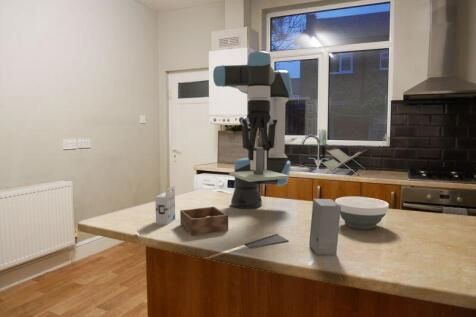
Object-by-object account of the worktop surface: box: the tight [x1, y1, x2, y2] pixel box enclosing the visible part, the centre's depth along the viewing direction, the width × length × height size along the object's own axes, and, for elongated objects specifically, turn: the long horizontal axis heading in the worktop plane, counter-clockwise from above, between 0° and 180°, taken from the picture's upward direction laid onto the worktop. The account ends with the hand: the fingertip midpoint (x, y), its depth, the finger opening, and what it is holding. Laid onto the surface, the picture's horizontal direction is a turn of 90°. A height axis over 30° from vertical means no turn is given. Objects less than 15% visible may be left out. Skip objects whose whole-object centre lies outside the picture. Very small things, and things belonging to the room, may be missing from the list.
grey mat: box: [244, 233, 289, 249], centre depth 116 cm, size 15×15×1 cm
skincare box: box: [308, 198, 341, 256], centre depth 104 cm, size 8×7×16 cm
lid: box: [228, 146, 290, 182], centre depth 114 cm, size 15×15×10 cm
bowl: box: [334, 196, 389, 231], centre depth 130 cm, size 20×20×10 cm
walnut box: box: [179, 206, 229, 237], centre depth 125 cm, size 14×14×6 cm
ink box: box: [154, 185, 176, 226], centre depth 133 cm, size 9×5×15 cm, turn 168°
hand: (258, 169), depth 114 cm, fingers closed on lid, 3 cm apart
